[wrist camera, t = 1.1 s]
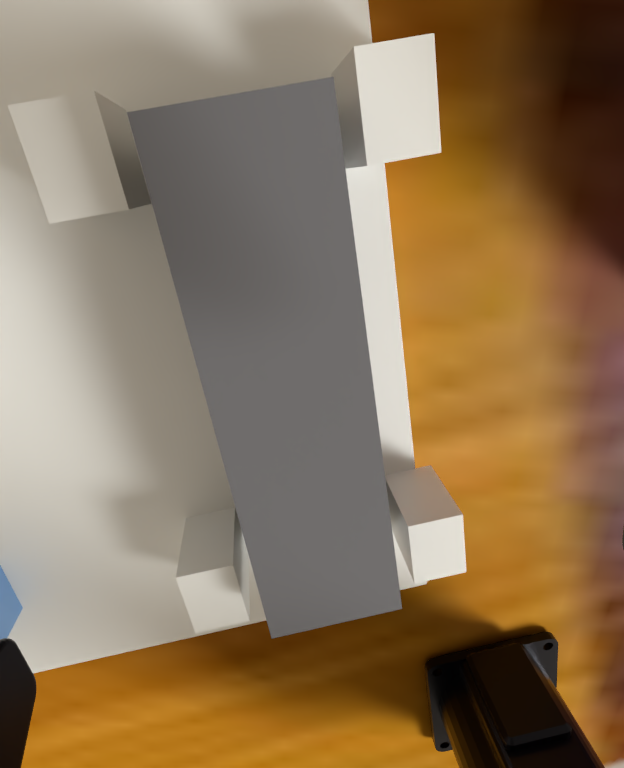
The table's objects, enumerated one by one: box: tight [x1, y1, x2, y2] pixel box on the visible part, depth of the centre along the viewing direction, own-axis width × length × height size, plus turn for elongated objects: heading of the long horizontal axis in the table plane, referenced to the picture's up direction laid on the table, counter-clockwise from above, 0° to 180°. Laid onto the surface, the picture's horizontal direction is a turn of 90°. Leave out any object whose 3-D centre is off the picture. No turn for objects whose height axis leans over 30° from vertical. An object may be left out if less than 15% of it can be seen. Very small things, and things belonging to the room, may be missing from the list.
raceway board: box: [0, 0, 466, 673], centre depth 15 cm, size 22×25×4 cm
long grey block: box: [127, 77, 402, 639], centre depth 14 cm, size 14×4×4 cm, turn 9°
